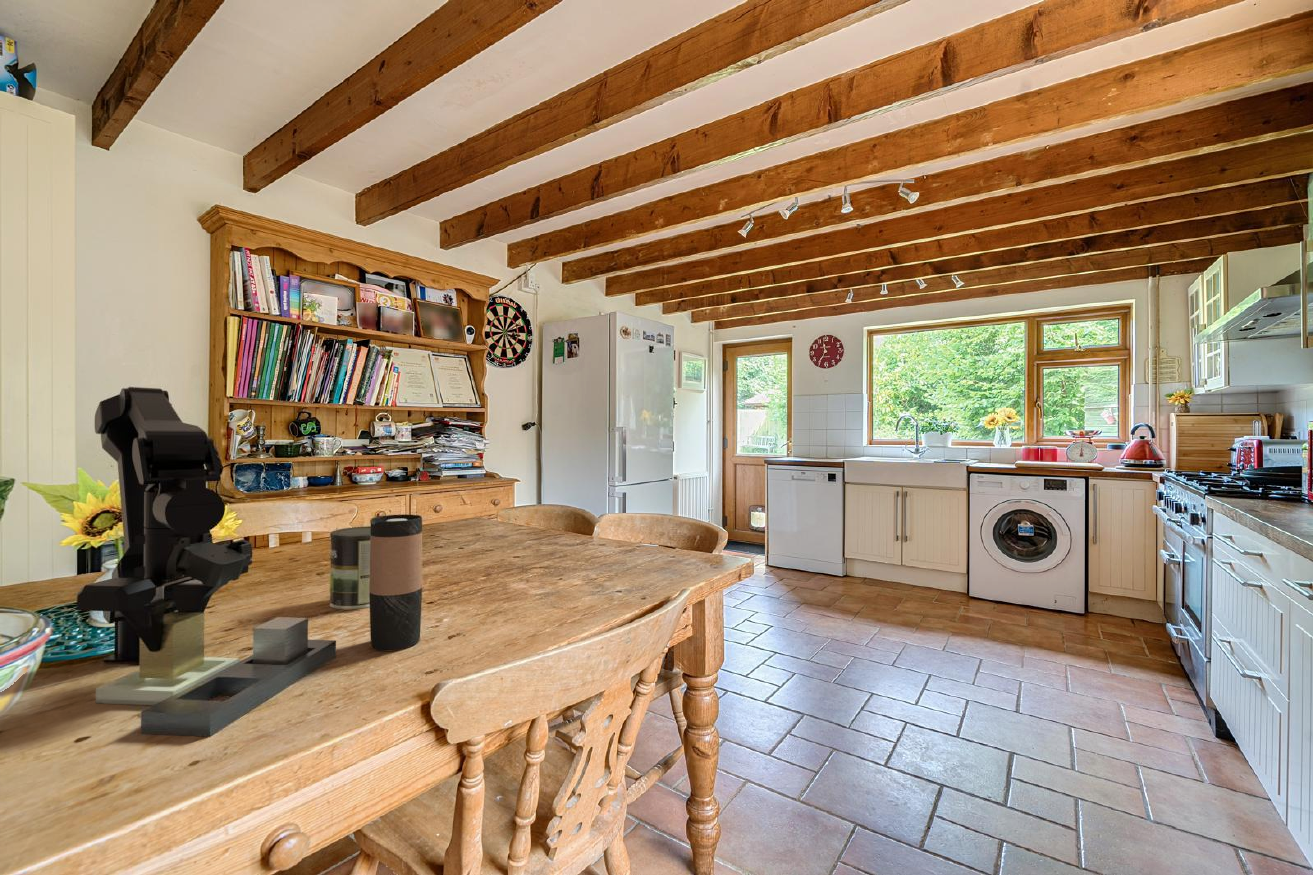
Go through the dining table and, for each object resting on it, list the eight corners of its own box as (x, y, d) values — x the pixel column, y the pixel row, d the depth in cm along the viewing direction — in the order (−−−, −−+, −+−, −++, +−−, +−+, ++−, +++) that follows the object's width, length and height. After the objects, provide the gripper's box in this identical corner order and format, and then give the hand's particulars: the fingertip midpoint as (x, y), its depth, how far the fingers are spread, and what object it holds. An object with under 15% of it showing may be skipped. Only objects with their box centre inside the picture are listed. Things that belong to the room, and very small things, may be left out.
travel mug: (429, 634, 93) (430, 514, 93) (410, 652, 85) (411, 521, 85) (382, 634, 92) (383, 514, 92) (359, 652, 85) (360, 521, 85)
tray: (95, 703, 68) (95, 688, 68) (171, 668, 78) (171, 655, 78) (173, 706, 68) (173, 691, 68) (239, 671, 78) (239, 658, 78)
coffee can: (326, 612, 103) (327, 536, 103) (332, 597, 112) (333, 527, 112) (388, 606, 107) (389, 533, 107) (389, 592, 116) (389, 525, 116)
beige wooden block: (173, 679, 70) (173, 624, 70) (139, 677, 71) (139, 622, 71) (203, 664, 75) (204, 612, 75) (172, 663, 75) (172, 611, 75)
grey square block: (252, 679, 75) (253, 628, 75) (277, 665, 80) (277, 617, 80) (284, 681, 75) (285, 629, 75) (307, 667, 79) (307, 618, 79)
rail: (140, 733, 61) (141, 711, 61) (284, 654, 83) (284, 638, 83) (210, 736, 61) (210, 714, 61) (335, 656, 83) (335, 640, 83)
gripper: (165, 540, 63) (164, 677, 63) (284, 516, 82) (283, 622, 82) (72, 538, 63) (71, 674, 64) (211, 514, 82) (210, 619, 82)
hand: (172, 644), depth 73 cm, fingers closed on beige wooden block, 4 cm apart
